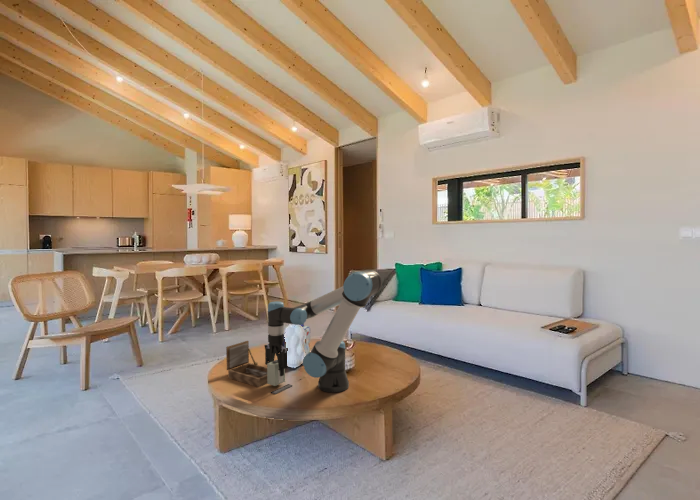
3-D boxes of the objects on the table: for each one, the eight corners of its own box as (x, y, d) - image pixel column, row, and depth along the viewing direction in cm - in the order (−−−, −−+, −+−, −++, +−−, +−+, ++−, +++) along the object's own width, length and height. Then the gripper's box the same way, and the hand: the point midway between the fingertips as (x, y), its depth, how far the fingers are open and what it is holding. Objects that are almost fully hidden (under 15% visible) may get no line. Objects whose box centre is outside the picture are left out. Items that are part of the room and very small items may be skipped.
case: (279, 380, 213) (278, 347, 212) (258, 389, 202) (258, 354, 201) (247, 371, 226) (247, 340, 225) (226, 379, 215) (226, 346, 214)
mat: (292, 386, 205) (292, 385, 205) (275, 394, 195) (275, 393, 195) (277, 382, 211) (277, 380, 211) (260, 389, 201) (260, 388, 201)
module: (285, 381, 205) (284, 359, 204) (274, 386, 199) (274, 363, 198) (277, 379, 207) (277, 358, 207) (267, 383, 202) (267, 361, 201)
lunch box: (296, 355, 254) (295, 320, 253) (312, 356, 252) (312, 320, 251) (279, 371, 227) (279, 331, 226) (297, 372, 225) (297, 332, 224)
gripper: (295, 334, 200) (295, 382, 201) (268, 329, 210) (268, 374, 211) (284, 338, 194) (284, 387, 195) (257, 332, 204) (257, 379, 205)
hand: (276, 380), depth 203 cm, fingers closed on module, 5 cm apart
